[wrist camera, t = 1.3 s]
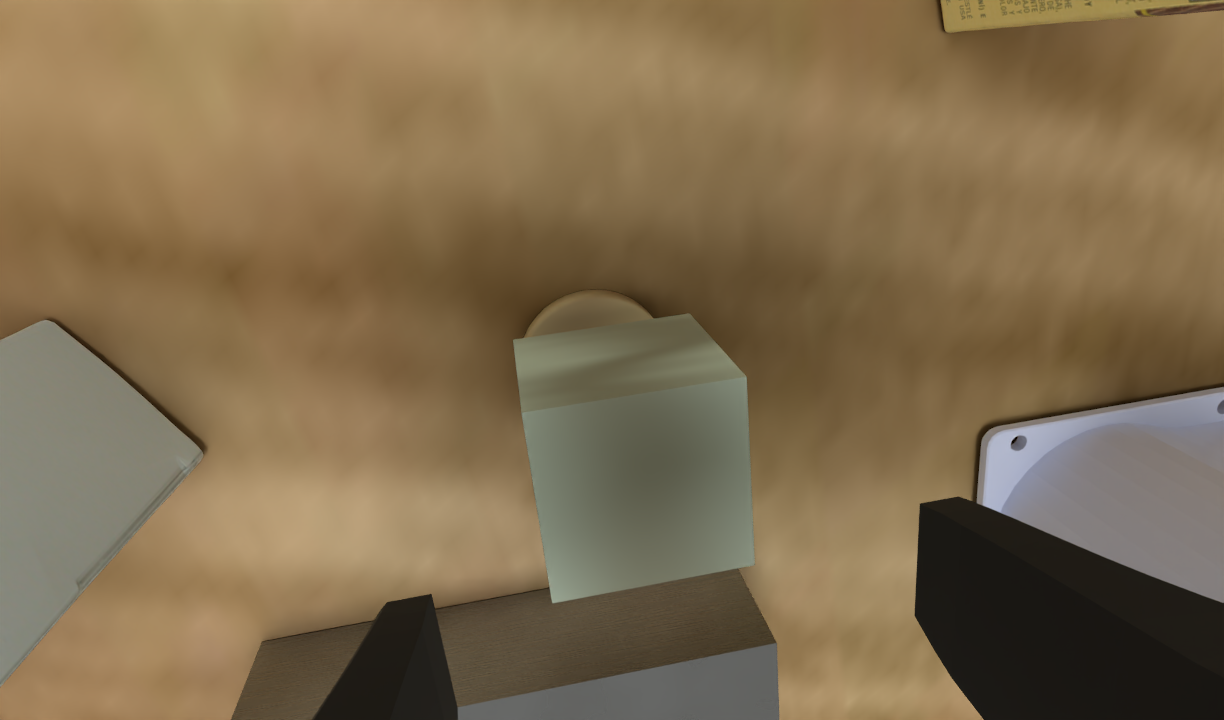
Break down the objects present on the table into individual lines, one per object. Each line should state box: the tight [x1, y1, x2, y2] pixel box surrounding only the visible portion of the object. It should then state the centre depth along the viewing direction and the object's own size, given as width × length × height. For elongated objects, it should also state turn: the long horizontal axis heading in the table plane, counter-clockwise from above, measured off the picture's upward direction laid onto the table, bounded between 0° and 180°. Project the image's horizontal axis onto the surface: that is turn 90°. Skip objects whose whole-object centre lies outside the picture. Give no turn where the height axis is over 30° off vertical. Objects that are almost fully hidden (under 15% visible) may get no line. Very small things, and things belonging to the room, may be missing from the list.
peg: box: [513, 289, 755, 603], centre depth 17 cm, size 4×4×7 cm
